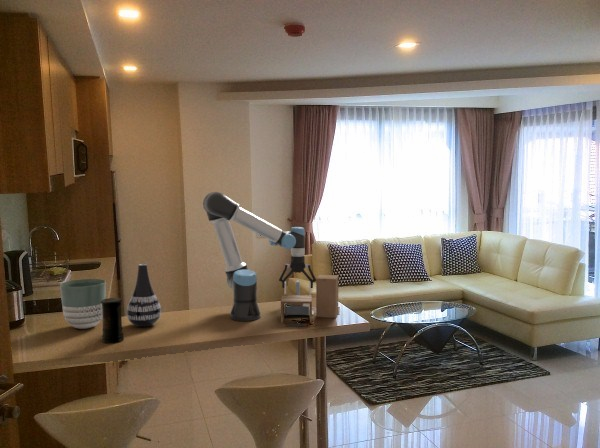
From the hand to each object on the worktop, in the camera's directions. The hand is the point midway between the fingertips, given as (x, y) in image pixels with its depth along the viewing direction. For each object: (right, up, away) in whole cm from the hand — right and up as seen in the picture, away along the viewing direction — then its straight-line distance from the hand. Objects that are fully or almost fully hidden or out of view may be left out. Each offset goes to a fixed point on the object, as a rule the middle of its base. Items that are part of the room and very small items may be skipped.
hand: (297, 294), depth 282 cm
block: (0, -8, -14) cm, 16 cm away
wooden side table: (0, -9, -25) cm, 27 cm away
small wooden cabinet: (0, -7, -8) cm, 11 cm away
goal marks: (0, -8, -13) cm, 15 cm away
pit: (0, -10, -36) cm, 37 cm away
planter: (-100, -11, -38) cm, 108 cm away
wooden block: (+15, -9, -18) cm, 26 cm away
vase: (-73, -11, -36) cm, 82 cm away
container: (-80, -12, -59) cm, 100 cm away
